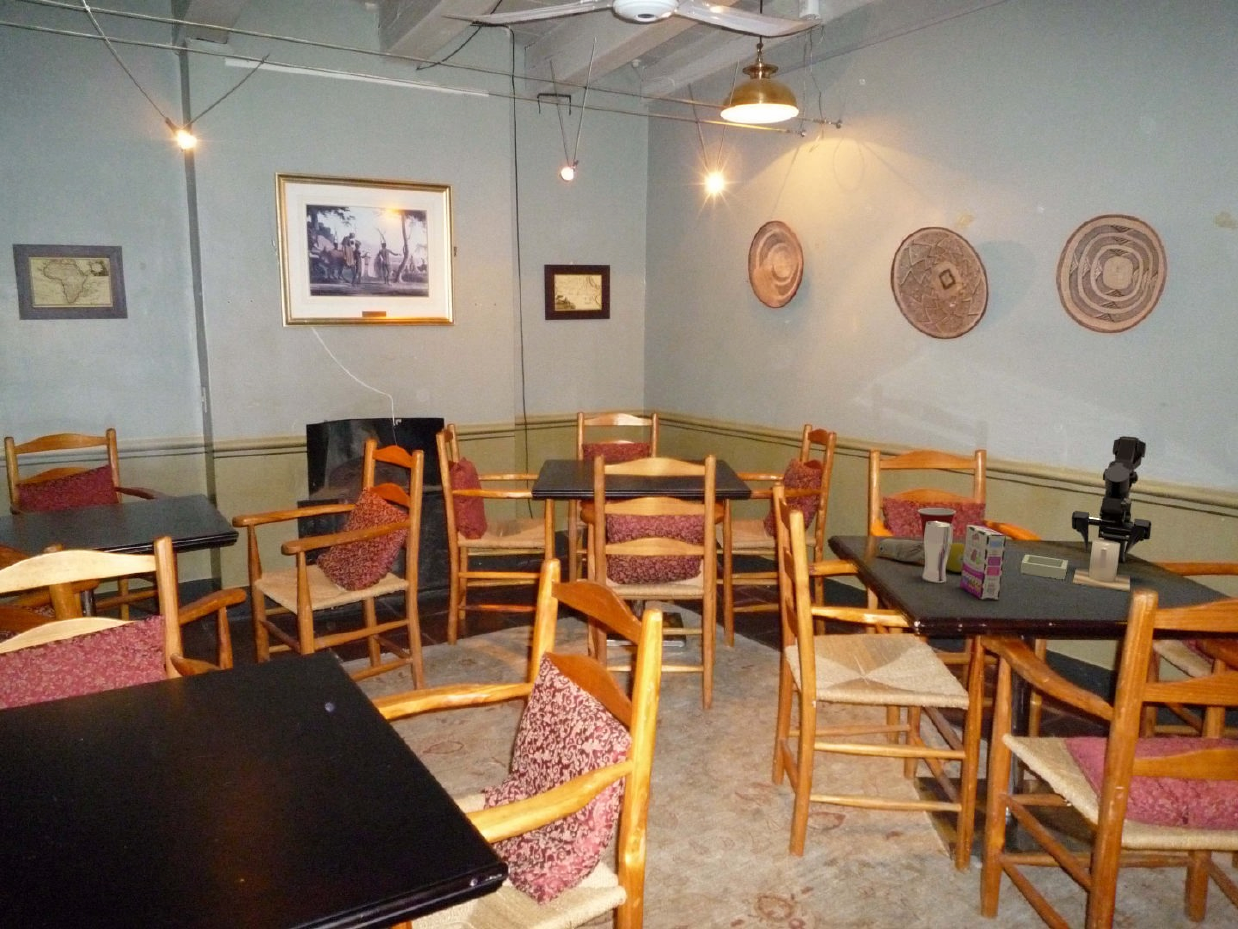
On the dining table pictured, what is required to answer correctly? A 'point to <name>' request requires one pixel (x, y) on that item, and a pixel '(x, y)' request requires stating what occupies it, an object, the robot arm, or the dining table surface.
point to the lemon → (956, 557)
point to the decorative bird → (902, 549)
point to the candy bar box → (983, 562)
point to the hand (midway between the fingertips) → (1105, 550)
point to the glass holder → (1044, 566)
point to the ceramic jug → (1104, 560)
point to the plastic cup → (935, 516)
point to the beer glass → (937, 550)
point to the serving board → (1083, 579)
